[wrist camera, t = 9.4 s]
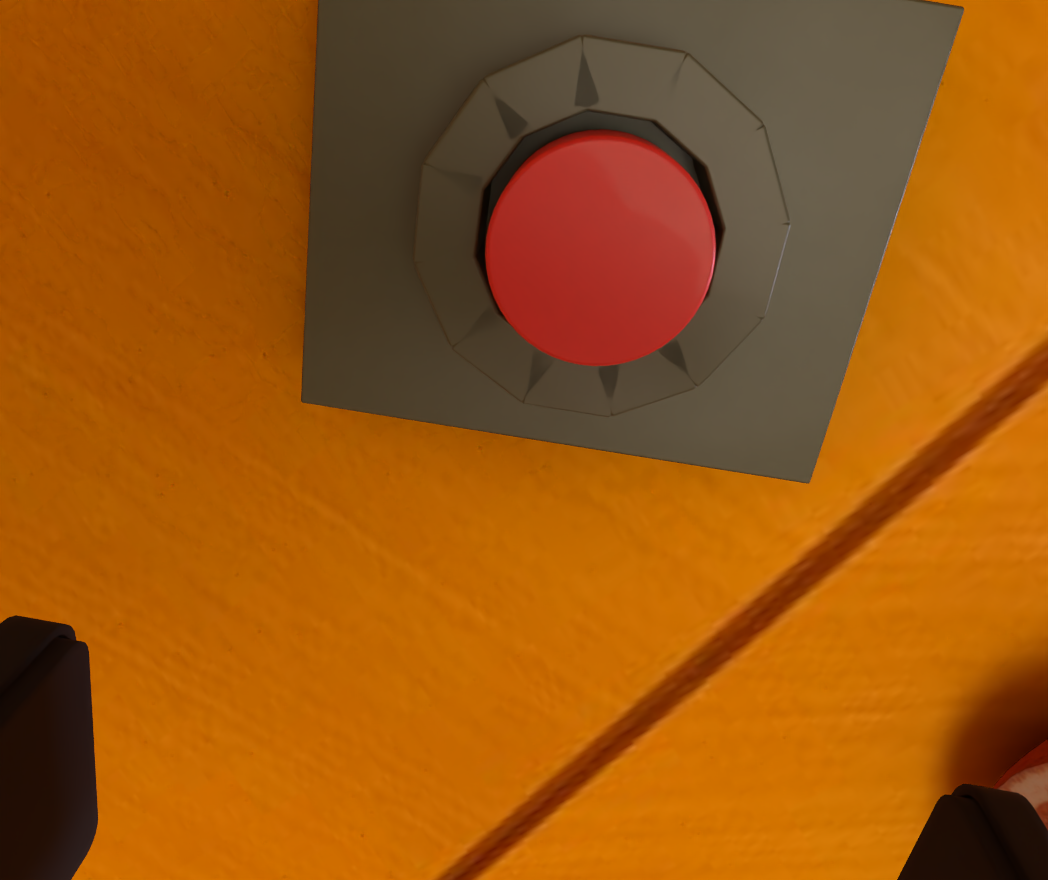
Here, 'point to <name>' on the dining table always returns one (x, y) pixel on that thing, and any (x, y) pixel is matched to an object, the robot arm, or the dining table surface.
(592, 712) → the dining table surface
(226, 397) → the dining table surface
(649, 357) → the button box
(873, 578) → the dining table surface
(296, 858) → the dining table surface
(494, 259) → the button
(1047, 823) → the fruit slice
